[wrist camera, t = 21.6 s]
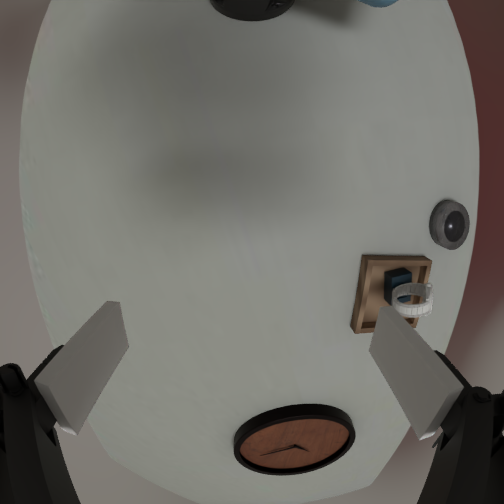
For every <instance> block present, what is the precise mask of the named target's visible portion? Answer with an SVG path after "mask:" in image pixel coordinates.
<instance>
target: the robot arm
mask: <svg viewBox="0 0 504 504" xmlns="http://www.w3.org/2000/svg"><path fill="white" fill-rule="evenodd" d="M210 1H211V3H212V5H213V6H214V8H215V9H216V10H218V11H219V12H220V13H222V14H224V15H226V16H228V17H231V18H234V19H238V20H245V21H260V20H267V19H271V18H274V17H277V16H279V15H281V14H283V13H284V12H286V11H287V10H288V9H289V8H290V7H291V6H292V4H293V2H294V0H210ZM358 1H360V2H363V3H365V4H367V5H370V6H372V7H380V8H382V7H387V6H389V5H391V4H393V3H395V2H396V1H398V0H358ZM128 348H129V344H128V340H127V336H126V331H125V327H124V322H123V317H122V312H121V307H120V302H113V301H107V302H106V303H105V304H104V305H103V306H102V307H101V308H100V309H99V310H98V311H97V312H96V313H95V314H94V315H93V316H92V317H91V318H90V319H89V320H88V321H87V322H86V323H85V324H84V325H83V326H82V327H81V328H80V329H79V330H78V331H77V332H76V334H75V335H74V336H73V337H72V338H71V339H70V340H69V341H68V342H67V343H66V344H65V345H61V346H59V347H57V348H56V349H54V350H53V351H52V352H51V353H50V354H49V355H48V356H47V358H46V359H45V360H44V361H43V363H41V364H40V365H39V366H38V367H37V368H36V370H35V371H34V372H33V373H32V374H31V375H30V376H29V378H28V379H27V380H26V378H25V377H24V375H23V372H22V370H21V368H20V367H19V366H18V365H17V364H14V363H9V364H5V365H3V366H1V367H0V504H81V503H80V501H79V499H78V496H77V494H76V491H75V489H74V486H73V484H72V481H71V478H70V475H69V473H68V470H67V467H66V464H65V461H64V457H63V454H62V451H61V447H60V444H59V440H58V436H57V432H56V430H55V428H54V425H55V423H56V421H57V422H58V424H59V425H60V427H61V428H62V430H64V431H66V432H69V433H71V434H74V435H78V433H79V431H80V429H81V428H82V426H83V424H84V422H85V420H86V419H87V417H88V415H89V413H90V411H91V410H92V408H93V406H94V404H95V403H96V401H97V399H98V397H99V396H100V394H101V392H102V391H103V389H104V387H105V385H106V384H107V382H108V380H109V379H110V377H111V375H112V374H113V372H114V370H115V369H116V367H117V365H118V364H119V362H120V361H121V359H122V357H123V356H124V354H125V352H126V351H127V349H128ZM369 352H370V354H371V355H372V357H373V359H374V360H375V362H376V364H377V365H378V367H379V369H380V370H381V372H382V374H383V376H384V377H385V379H386V381H387V382H388V384H389V386H390V388H391V389H392V391H393V393H394V395H395V396H396V398H397V400H398V402H399V404H400V405H401V407H402V409H403V411H404V413H405V415H406V416H407V418H408V420H409V422H410V424H411V426H412V427H413V429H414V431H415V433H416V435H417V437H418V439H419V440H421V439H424V438H427V437H429V436H432V435H434V434H435V432H436V430H437V429H438V428H439V426H441V428H442V429H443V432H442V433H441V435H440V436H439V437H438V439H437V440H436V442H435V443H434V444H433V446H432V448H434V447H435V446H436V444H437V443H438V445H437V449H436V452H435V456H434V459H433V462H432V465H431V468H430V471H429V474H428V477H427V479H426V482H425V485H424V488H423V490H422V493H421V495H420V497H419V500H418V502H417V504H504V436H503V435H502V431H503V430H504V390H503V391H502V393H501V394H493V395H492V394H491V393H490V392H489V391H488V390H487V389H485V388H483V387H472V386H471V385H470V384H469V383H468V382H467V381H466V379H465V378H464V377H463V376H462V375H461V373H460V372H459V371H458V370H457V369H455V366H454V365H453V364H451V362H450V361H449V360H448V359H447V357H446V356H445V355H443V354H442V353H440V352H438V351H437V350H435V351H433V350H432V349H431V347H430V346H429V345H428V344H427V343H426V342H425V341H424V340H423V338H422V337H421V336H420V335H419V334H418V333H417V332H416V331H415V330H414V329H413V327H412V326H411V325H410V324H409V323H408V322H407V321H406V320H405V319H404V318H403V317H402V316H401V315H400V314H399V313H398V311H397V310H396V309H395V308H394V307H393V306H385V307H380V309H379V313H378V317H377V321H376V326H375V329H374V333H373V337H372V341H371V345H370V348H369Z"/></svg>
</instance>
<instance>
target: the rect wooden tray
mask: <svg viewBox="0 0 504 504" xmlns="http://www.w3.org/2000/svg"><path fill="white" fill-rule="evenodd" d="M431 264H432V260H430V259H428V258H427V257H425V256H374V255H362V260H361V267H360V274H359V281H358V287H357V293H356V299H355V304H354V310H353V315H352V320H351V325H350V326H351V328H352V330H353V331H354V333H355V334H358V333H371V332H374V329H375V326H376V321H377V317H378V313H379V309H380V307H385V306H390V305H389V304H388V303H387V302H386V301H385V300H384V272H385V271H390V270H394V269H398V268H403V267H404V268H406V269H407V270H409V271H410V272H412V283H417V284H418V283H421V284H424V283H426V284H427V283H428V279H429V274H430V270H431ZM412 285H413V284H412ZM415 289H416V287H415ZM422 300H423V297H421V296H418V295H411V301H408V302H405V303H403V304H408V305H409V304H420V303H422ZM406 308H407V307H406ZM411 313H412V312H411ZM401 316H402V315H401ZM407 316H408V315H407ZM402 317H403V318H404V319H405V320H406V321H407V322H408V323H409V324H410V325H411V326H412V327H413V328H416V325H417V322H418V319H419V317H416V318H410V317H405V316H402Z"/></svg>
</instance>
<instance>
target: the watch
mask: <svg viewBox="0 0 504 504" xmlns="http://www.w3.org/2000/svg"><path fill="white" fill-rule="evenodd" d="M412 284H413V285H412ZM415 287H416V289H415ZM411 295H418V296H421V297H423V300H422V303H420V304H409V305H408V304H403V303H405V302H408V301H411ZM384 300H385V301H386V302H387V303H388V304H389V305H390V306H393V307H394V308H395V309H396V310H397V311H398V313H399V314H400V315H402V316H405V317H410V318H416V317H422V316H427V315H428V313H429V314H431V311H432V306H433V286H432V284H431V283H427V284H426V283H424V284H421V283H418V284H417V283H412V272H410V271H409V270H407V269H406V268H404V267H403V268H398V269H394V270H390V271H385V272H384ZM406 307H407V308H406ZM411 312H412V313H411ZM407 315H408V316H407Z"/></svg>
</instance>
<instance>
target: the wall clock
mask: <svg viewBox="0 0 504 504" xmlns="http://www.w3.org/2000/svg"><path fill="white" fill-rule="evenodd" d="M354 440H355V430H354V427H353V424H352V421H351V419H350V417H349V416H348V415H347V414H346V413H345V412H344V411H342V410H340V409H338V408H336V407H333V406H329V405H322V404H297V405H290V406H284V407H280V408H276V409H272V410H269V411H266V412H264V413H261V414H259V415H257V416H255V417H253V418H251V419H250V420H248V421H247V422H245V423H244V424H243V425H242V426H241V427H240V428H239V429H238V431H237V432H236V435H235V438H234V455H235V458H236V459H237V461H238V462H239V463H240V464H241V465H243V466H244V467H246V468H248V469H250V470H252V471H255V472H258V473H262V474H268V475H296V474H302V473H307V472H311V471H314V470H317V469H320V468H322V467H325V466H327V465H329V464H331V463H333V462H335V461H336V460H338V459H339V458H341V457H342V456H343V455H344V454H345V453H346V452H347V451H348V450H349V449H350V448H351V446H352V445H353V443H354Z"/></svg>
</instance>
